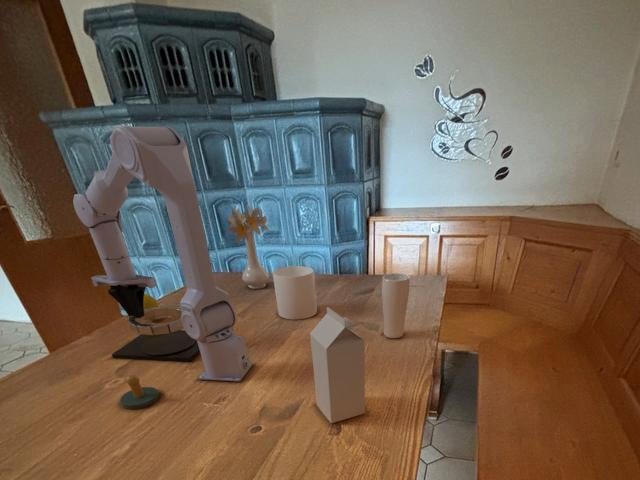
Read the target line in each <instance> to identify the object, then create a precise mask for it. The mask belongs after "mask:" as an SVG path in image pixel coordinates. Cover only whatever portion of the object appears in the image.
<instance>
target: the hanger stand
mask: <svg viewBox="0 0 640 480" xmlns="http://www.w3.org/2000/svg"><path fill="white" fill-rule="evenodd" d="M125 381H126V384H127V385H129V388H130V390H129V391H127V392H125V393H123V395H122V396H121V397H120V399H119V402H120V405H121V406H122V407H123V408H125V409H127V410H140V409H144V408H147V407H149V406H152V405H154V404H155V403H157V402H158V400H159V399H160V393H159V390H158V389H156V388H155V387H152V386H142V385H141V383H140V378H139V377H138V376H137V375H136V374H129V375H127V377H126V380H125Z"/></svg>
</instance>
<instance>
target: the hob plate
mask: <svg viewBox="0 0 640 480" xmlns="http://www.w3.org/2000/svg"><path fill="white" fill-rule="evenodd" d="M200 354H201V353H200V350H199V346H198V343H197V340H195V339H193V338H192V337H190V336H189V335H188V334H187V333H186V331H185V329H181V330H178V331H175V332H172V333H171V332H169V333H168V334H160V335H145V334H138V335H137V336H136V337H134V339H132V340H130V341H129V342H128V343H126V344H125V345H123V346H121V347H120V348H118V349H117V350H116V351H114V352H113V353H111V356H112V358H113V359H122V360H123V359H124V360H142V361H143V360H144V361H160V362H161V361H163V362H182V363H191V362H192V361H194V359H196V357H197V356H199V355H200Z"/></svg>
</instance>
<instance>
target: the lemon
mask: <svg viewBox="0 0 640 480" xmlns="http://www.w3.org/2000/svg"><path fill="white" fill-rule="evenodd" d="M143 305H144V310H145V309H149V308H153V307H159V303H158V302H157V300H156V299H155V297H153V296H152V295H150V294H147V293H144V301H143ZM155 319H157V317H154V318H150V319H148V320H149V321H150V322H153V321H155Z"/></svg>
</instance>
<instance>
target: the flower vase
mask: <svg viewBox="0 0 640 480" xmlns="http://www.w3.org/2000/svg"><path fill="white" fill-rule="evenodd" d="M245 207H246V210H247V211H243V212H242V213H241V210H240V208H239V207H238V208H237V209H236V208H234V207H232V208H231V215H229V216H228V217H227V221H226V224H228V225H230V226H228V228H227V230H228V232H229V233H230V234H231V233H233V234H236V235H235V243H237V244H240V243H242V241H243V240H244V243H245V249H246V256H247V263H246V267H245V269H244V270H243V272H242V274H241V278H242V281H243V282H244V283H245V284H246V285H247V286H248V288H249V289H252V290H259V289H263V288H266V286H267V283H268V281H269V279H270V275H269V272H268V271H267V269H266V268H264V267H263V266H262V264H261V263H260V260H259V258H258V254H257V248H256V244H255V233H256V234H257V235H258V236H259V235H261V232H262V231H261V228H262V229H263V231H265V233H270V230H269V227H268V226H267V225H266V224H267V221H268V219H267V216H265V215H264V216H263V209H262V207H260V209H259V207H257V206H256V207H254V208H253V209H252V208H251V206H250V205H248V204H246V206H245ZM260 227H261V228H260ZM243 238H244V239H243Z"/></svg>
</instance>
